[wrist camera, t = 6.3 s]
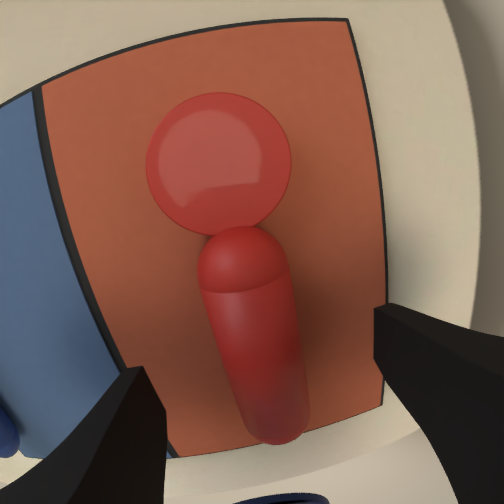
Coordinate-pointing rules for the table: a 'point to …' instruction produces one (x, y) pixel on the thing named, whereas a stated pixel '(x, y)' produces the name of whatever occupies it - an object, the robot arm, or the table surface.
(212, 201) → the red spoon
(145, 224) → the sorting mat
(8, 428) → the blue spoon
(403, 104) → the table surface
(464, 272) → the table surface
